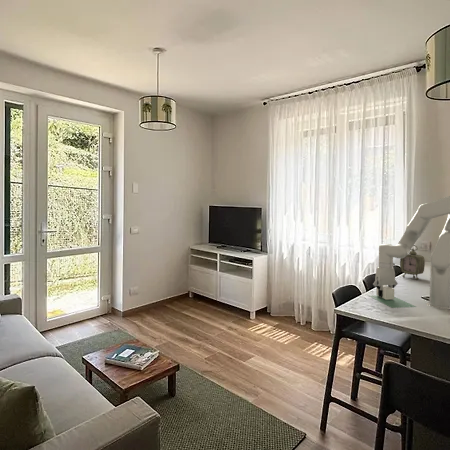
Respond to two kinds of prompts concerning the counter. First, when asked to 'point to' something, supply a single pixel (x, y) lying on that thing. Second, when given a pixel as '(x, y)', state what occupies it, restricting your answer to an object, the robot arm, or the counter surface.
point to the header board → (393, 302)
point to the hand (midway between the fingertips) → (385, 296)
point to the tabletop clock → (412, 264)
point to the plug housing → (386, 292)
